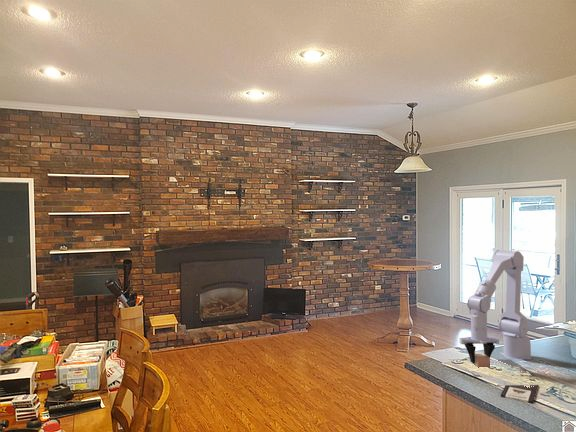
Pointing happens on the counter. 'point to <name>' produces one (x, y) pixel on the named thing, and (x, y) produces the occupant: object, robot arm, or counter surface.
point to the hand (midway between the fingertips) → (479, 362)
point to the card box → (481, 360)
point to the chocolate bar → (520, 392)
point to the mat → (511, 367)
